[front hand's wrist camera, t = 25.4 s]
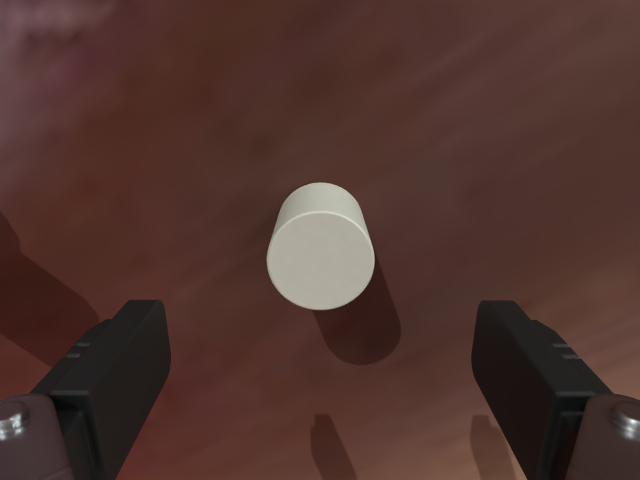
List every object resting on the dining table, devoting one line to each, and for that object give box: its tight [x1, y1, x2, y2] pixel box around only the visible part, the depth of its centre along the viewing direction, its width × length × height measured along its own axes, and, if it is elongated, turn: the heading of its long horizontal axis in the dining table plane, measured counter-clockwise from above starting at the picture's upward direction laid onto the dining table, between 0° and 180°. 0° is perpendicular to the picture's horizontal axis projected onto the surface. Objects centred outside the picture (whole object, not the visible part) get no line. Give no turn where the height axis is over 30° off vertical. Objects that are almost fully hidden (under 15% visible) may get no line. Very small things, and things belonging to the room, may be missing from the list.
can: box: [267, 183, 375, 310], centre depth 18 cm, size 4×4×4 cm
